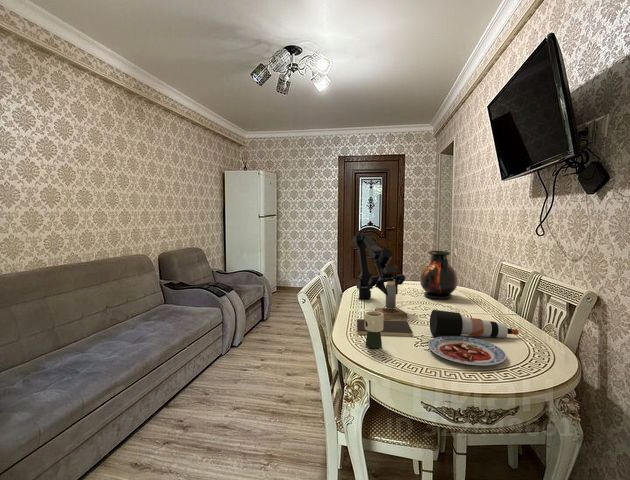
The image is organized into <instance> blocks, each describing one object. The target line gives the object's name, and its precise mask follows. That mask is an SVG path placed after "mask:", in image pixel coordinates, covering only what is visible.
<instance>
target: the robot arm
mask: <svg viewBox="0 0 630 480" xmlns="http://www.w3.org/2000/svg"><path fill="white" fill-rule="evenodd" d="M352 242H353V244H354V247H355V249H357V253H358V254H357V255H358V256H357V257H358V261H359V262H358V263H359V272H360V273H359V275H358V280H357V282H356V289H357V290H358V300H366V301H369V300H370V299H371V297H372V291H371V289H373V288H374V287H375V288H377V289H378V290H380V291H381V292H382V293H383V294H384V295H385V296H386V295H388V293H387V290H386V285H385V283H387V281H395V285H396V296H398V291H399V289H398V288H399V285H403V284H404V282H405V281H406V279H407V278H406V276H405V275H404V274H396V273H397V272H399V267H398V266H397V264H396V265H394V264H393V265H392V266H388V264H389V262H390V261H391V259H392V258H393V256H394V253H393V251H391V250H390V249H388V248H387V247H380V246H378V245H377V243H376V242H375V241H374V239H373V238H372V236H371V233H369V232H365V233H364V232H362V233H360V234H355V235H354V236H353V238H352ZM366 248H367V249H368V251H369V254H368V256H369V258H370V260H371V261H374V268H376V271H377V275H373V274H372V273H371V272H370V271H369V265H368V264H369V263H368V256H367V250H366ZM394 274H396V275H395V277H393V276H394Z"/></svg>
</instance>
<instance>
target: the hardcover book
mask: <svg viewBox="0 0 630 480" xmlns="http://www.w3.org/2000/svg"><path fill="white" fill-rule="evenodd" d="M356 331H357V335H366V336H367V332H368V331H367V330H366V329H365V318H363V319H361V318H357V319H356ZM380 333H381V336H399V337H412V336H413V333H414V332H413V330H412V328H411V326H410V324H409V322H408V320H398V319H397V320H395V319H393V320H392V319H383V331H380Z"/></svg>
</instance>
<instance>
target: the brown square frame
mask: <svg viewBox="0 0 630 480" xmlns="http://www.w3.org/2000/svg"><path fill="white" fill-rule="evenodd" d="M374 311H378V312H382V313H383V315H384V316H383V320H392V319H393V320H395V319H401V318H402V319H406V318H408V313H407V312H406V311H404V310H402V309H400V308H399V307H398V306H396V307H395V308H387V307H376V308H374Z"/></svg>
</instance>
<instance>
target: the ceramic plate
mask: <svg viewBox="0 0 630 480" xmlns="http://www.w3.org/2000/svg"><path fill="white" fill-rule="evenodd" d="M428 348H429V350H430V351H432V353H434V354H435V355H437V356H438V357H440V358H442V359H446V360H449V361H451V362H456V363H459V364H463V365H471V366H481V367H482V366H494V365H498V364H501V363H503V362H505V360H506V359H507V354H506V352H505V351H504V349H502V348H501V347H499V346H498V345H496V344H494V343H491V342H488V341H486V340H482V339H479V338H474V337H470V336H464V335H460V336H437V337H434V338H432V339H430V340H429V341H428Z"/></svg>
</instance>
